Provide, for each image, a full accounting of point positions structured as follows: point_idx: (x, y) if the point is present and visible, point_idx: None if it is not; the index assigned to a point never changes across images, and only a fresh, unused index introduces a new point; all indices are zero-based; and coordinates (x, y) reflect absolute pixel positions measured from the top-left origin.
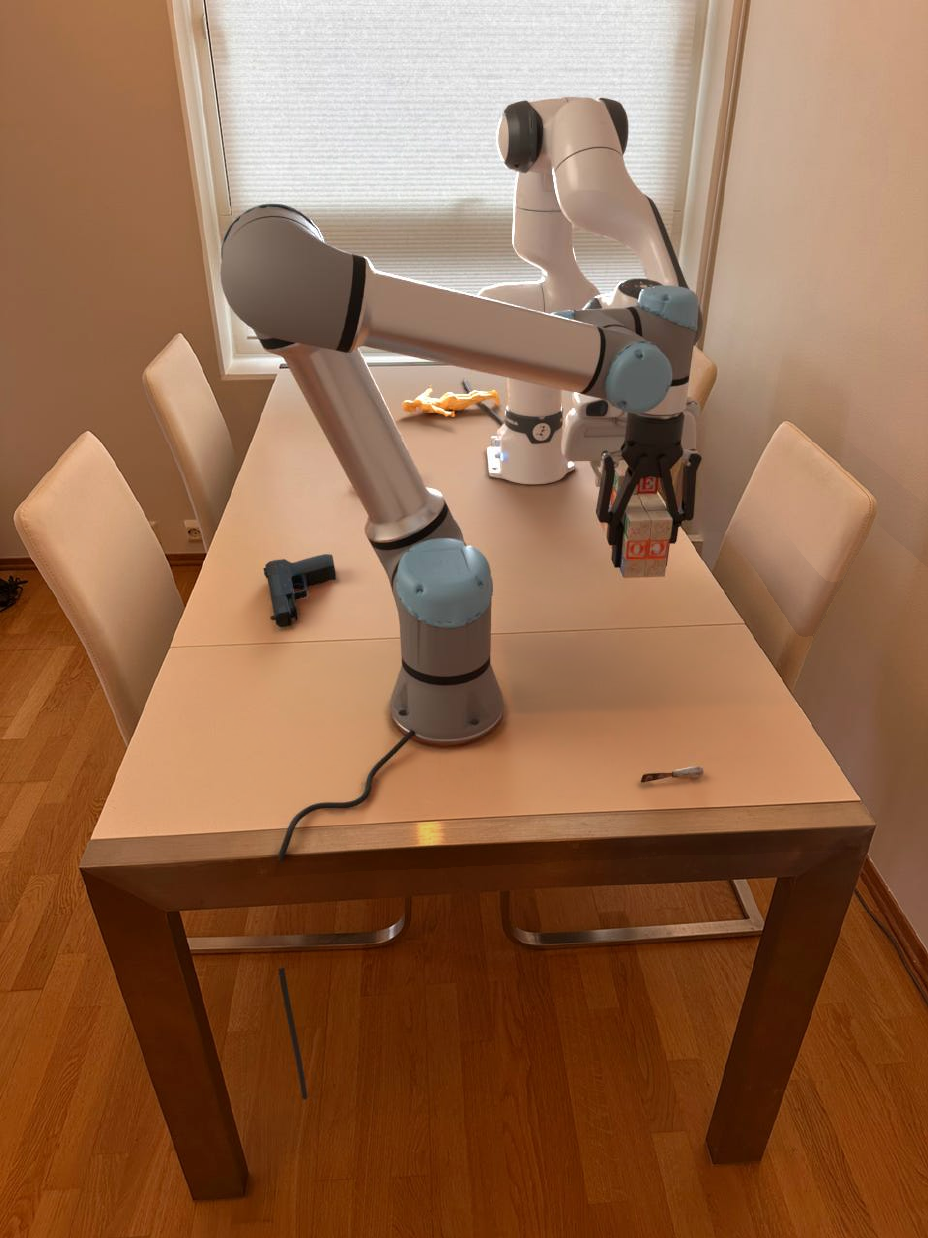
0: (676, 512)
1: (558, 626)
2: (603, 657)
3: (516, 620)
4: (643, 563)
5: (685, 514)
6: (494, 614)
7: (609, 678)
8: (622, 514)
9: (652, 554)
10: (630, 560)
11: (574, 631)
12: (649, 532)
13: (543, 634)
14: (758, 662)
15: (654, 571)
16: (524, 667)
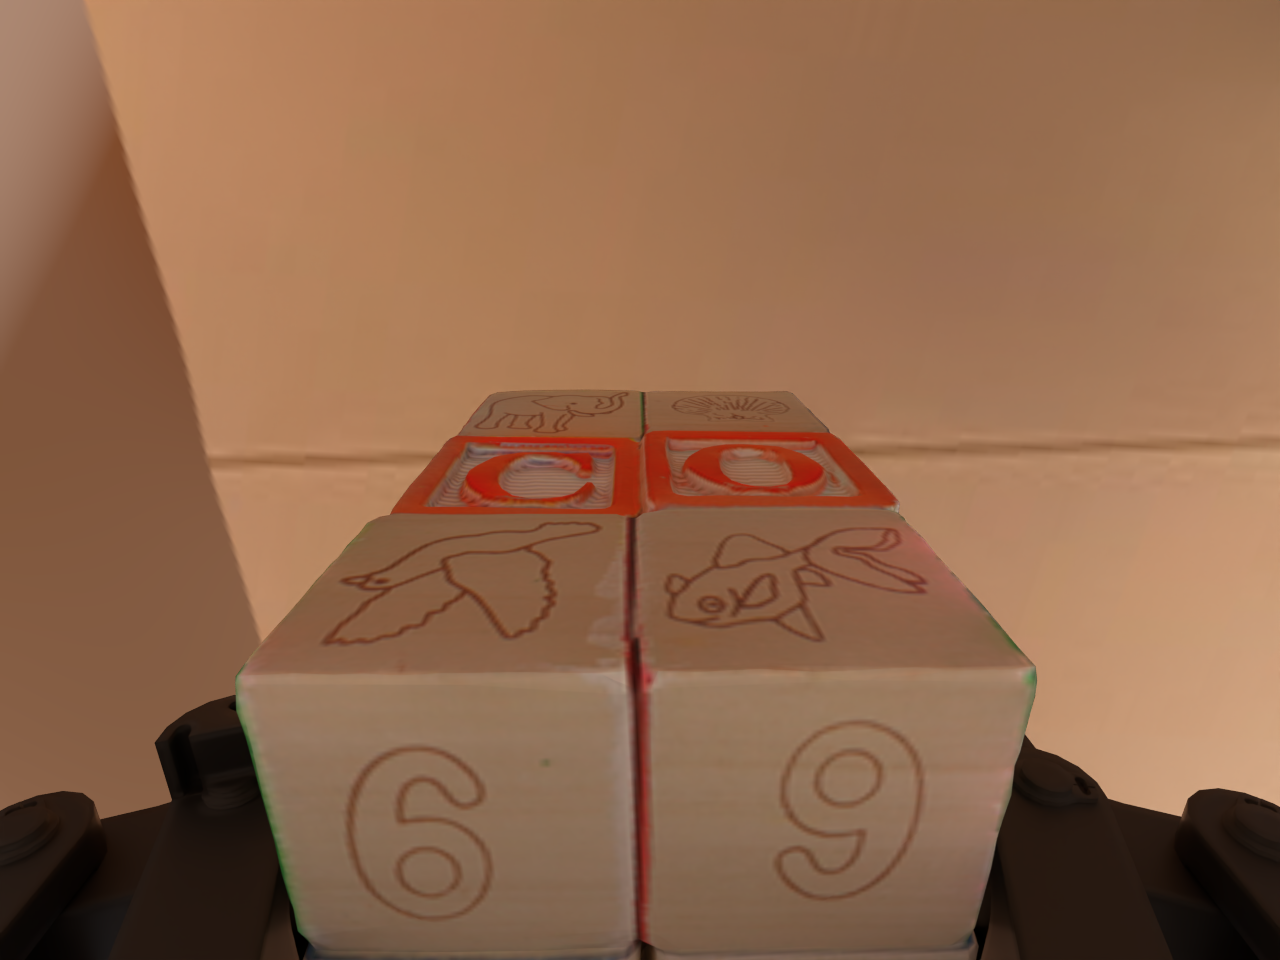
0: (166, 902)
1: (912, 483)
2: (792, 247)
3: (1061, 532)
4: (661, 422)
5: (50, 870)
6: (1130, 575)
7: (808, 75)
8: (1017, 892)
9: (585, 456)
10: (783, 429)
11: (860, 445)
12: (644, 550)
13: (988, 431)
14: (136, 166)
15: (567, 399)
16: (1145, 189)
